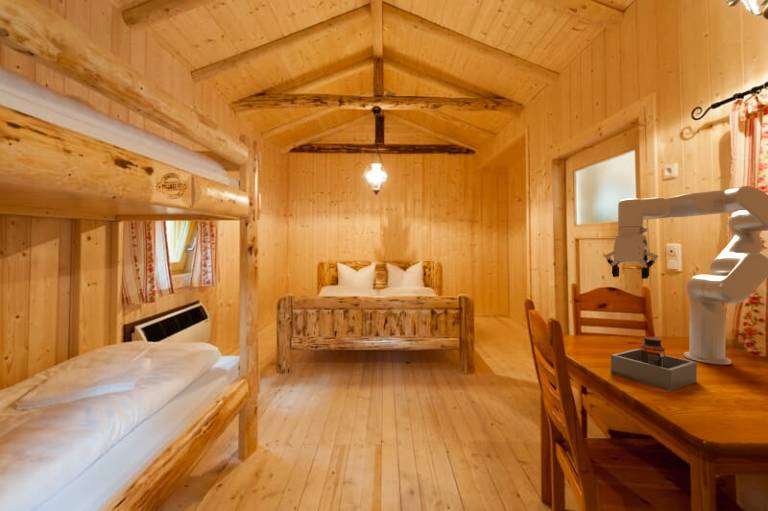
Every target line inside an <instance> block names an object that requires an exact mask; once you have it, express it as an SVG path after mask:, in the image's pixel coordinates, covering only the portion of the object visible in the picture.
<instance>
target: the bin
mask: <svg viewBox="0 0 768 511" xmlns="http://www.w3.org/2000/svg"><path fill="white" fill-rule="evenodd" d="M697 362H698V361H694V360H690V359H685V358H680V357H675V356H671V355H667V354H665V368H663V367H659V366H656V365H652V364H648V363H644V362H641V348H634V349H630V350H626V351H622V352H617V353H614V354H610V374H612V375H615V376H619V377H622V378H626V379H629V380H632V381H636V382H639V383H642V384H645V385H649V386H651V387H655V388H657V389H661V390H664V391H669V392H673V391H676V390H678V389H681V388H683V387H686V386H688V385H692V384H694V383H697V378H698V377H697V375H698V374H697V373H698V372H697V371H698V370H697V369H698V368H697V364H698V363H697Z"/></svg>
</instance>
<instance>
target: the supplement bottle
mask: <svg viewBox="0 0 768 511" xmlns="http://www.w3.org/2000/svg"><path fill="white" fill-rule="evenodd" d="M640 349H641V362H644V363H648V364H652V365H656V366H659V367H663V368H665V355H666V354H665V353H666V352H665V347H664V346H663V345H662V339H660V338H657V337H653V336H652V337H650V336H646V337H644V343H642V344H640Z"/></svg>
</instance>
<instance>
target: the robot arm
mask: <svg viewBox="0 0 768 511" xmlns="http://www.w3.org/2000/svg"><path fill="white" fill-rule="evenodd" d="M617 208H618V209H617V210H618V211H617V215H618V216H617V235H616V236H615V240H614V245H613V251H611V252H609V253H607V254H605V255H604V257H605V260H606V262H607V263H608V264H609V265H610V267H611V275H612V277H613V278H619V277H620V266H619V265H620V264H621V263H639V264H640V265H641V266H642V267H641V274H640V275H641V276H640V278H641V279H643V280H646V279H647V280H648V279H649V277H650V268H651V267H652V266H653V265H654V264H655V263H656V261H657V260H658V258H659V255H657V254H656V253H654V252H651V251H649V242H648V239H647V236H646V234H645V233H646V232H648V228H647V227H646V228H645V227H644V221H647V220H657V219H668V218H686V217H687V218H688V217H697V216H706V215H717V214H726V213H732V214H730V216H729V219H728V227H729V229H730V233H731V239H730V241H729V243H728V244H727V245H726V247H724V248H723V249H722V251H720V253H719V254H718V255H717V256H716V257H715V258H714V259H713V260H712V261H711V263H710V265H709V269H710V272H711V273H712V274H697V275H693V276H692V277H691V278H689V279H688V280H687V282H686V293H687V297H688V302H689V351H684V352H683V356H684V357H685V358H687V359H688V360H690V361H694V362H699V363H704V364H711V365H721V366H726V365H731V364H732V359H730V358H728V357H726V318H727V317H726V314H727V313H726V310H725V307H724V305H723V304H732V305H733V304H734V305H735V304H740V303H742V302H745V300H747V299H748V298H749V297H750V296H751V295H752V294H753V293H754V292H755V291H756V290H757V289H758V288H759V286H761V284H763V283H764V282H765V280H767V279H768V257H767V256H765V255H764V254H761V252H762V250H763V247H764V246H763V241H762V240H761V239H762V238H761V237H760V234H759V232H764V231H766V232H768V194H767V193H766V192H764V191H762V190H760V189H759V188H756V187H753V186H751V185H743V186H738V187H733V188H732V187H731V188H728V189H727V188H726V189H720V190H719V189H718V190H712V191H703V192H702V191H701V192H691V193H685V194H684V193H683V194H680V195H676V196H672V197H666V198H665V197H658V196H657V197H650V198H625V199H622V200H621V199H620V201H619V202H618V206H617ZM612 257H613V259H612Z"/></svg>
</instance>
